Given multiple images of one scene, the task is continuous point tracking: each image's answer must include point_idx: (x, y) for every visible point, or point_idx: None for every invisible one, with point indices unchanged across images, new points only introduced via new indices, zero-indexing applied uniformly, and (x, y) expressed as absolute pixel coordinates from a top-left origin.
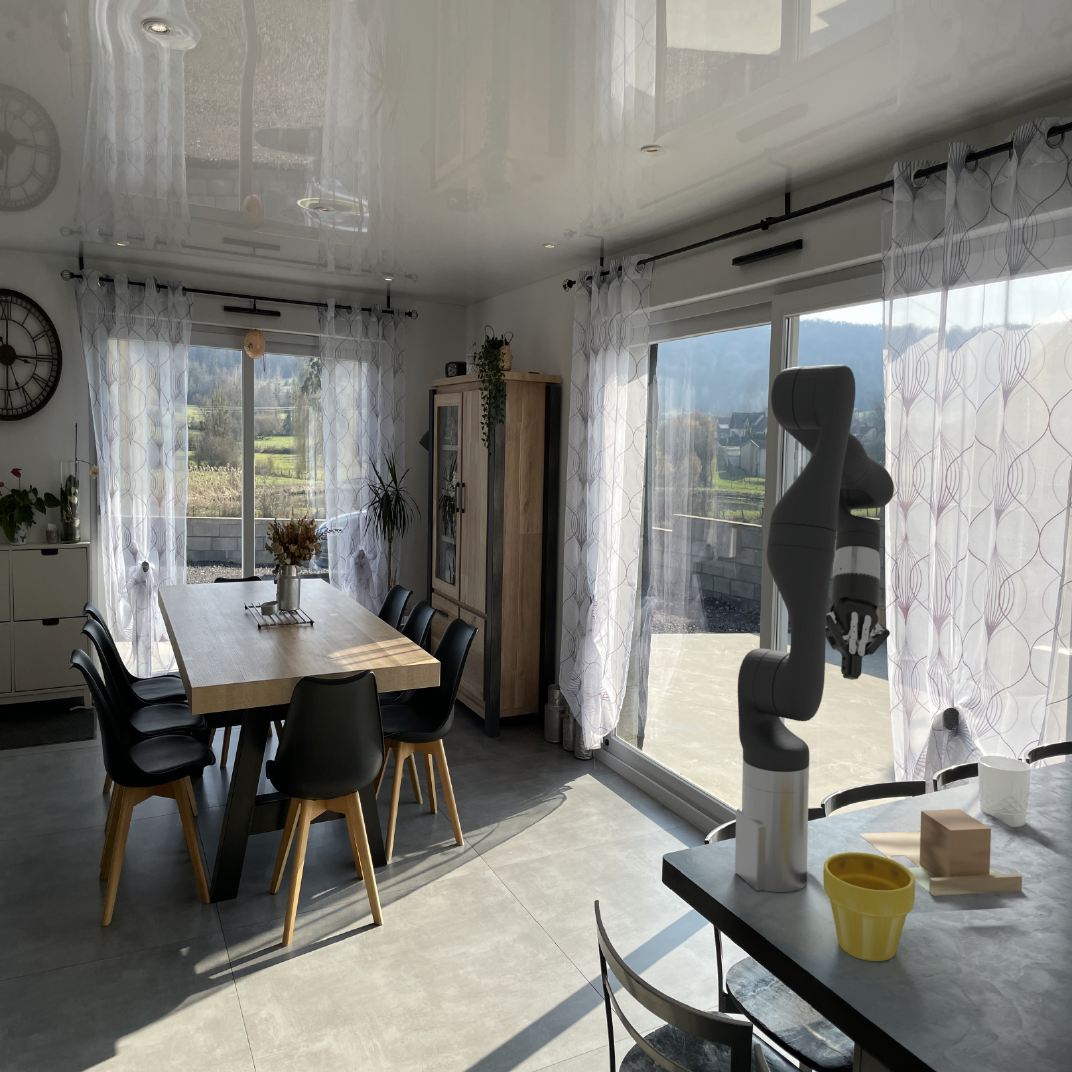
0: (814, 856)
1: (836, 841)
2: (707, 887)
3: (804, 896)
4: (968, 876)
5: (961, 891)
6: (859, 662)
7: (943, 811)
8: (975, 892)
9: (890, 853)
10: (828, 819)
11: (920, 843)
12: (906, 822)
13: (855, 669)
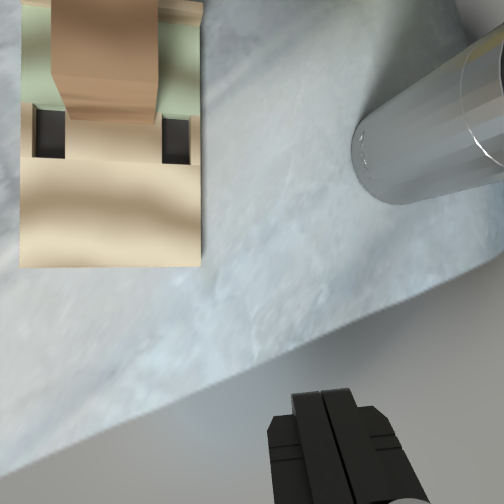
0: (303, 221)
1: (236, 278)
2: None
3: (372, 94)
4: None
5: None
6: (308, 463)
7: (104, 67)
8: None
9: (184, 174)
10: (203, 384)
11: (154, 110)
12: (32, 363)
13: (326, 422)
